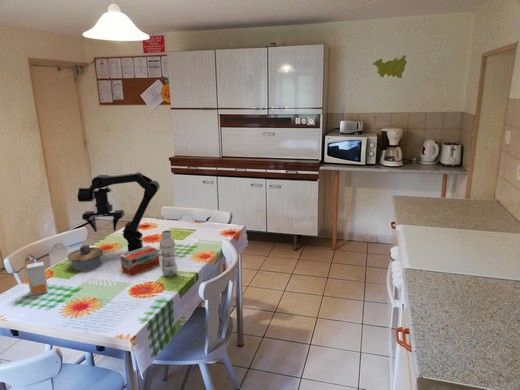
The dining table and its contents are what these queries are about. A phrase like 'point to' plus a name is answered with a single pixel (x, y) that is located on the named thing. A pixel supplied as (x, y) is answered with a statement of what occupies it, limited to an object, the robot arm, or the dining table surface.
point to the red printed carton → (139, 260)
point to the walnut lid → (85, 254)
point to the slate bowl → (86, 264)
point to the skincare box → (37, 278)
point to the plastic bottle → (168, 254)
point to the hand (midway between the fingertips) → (105, 231)
